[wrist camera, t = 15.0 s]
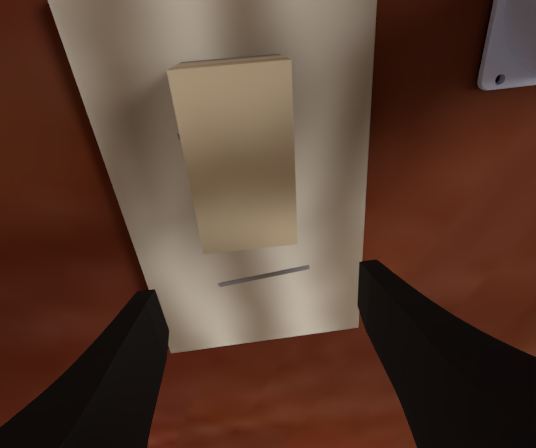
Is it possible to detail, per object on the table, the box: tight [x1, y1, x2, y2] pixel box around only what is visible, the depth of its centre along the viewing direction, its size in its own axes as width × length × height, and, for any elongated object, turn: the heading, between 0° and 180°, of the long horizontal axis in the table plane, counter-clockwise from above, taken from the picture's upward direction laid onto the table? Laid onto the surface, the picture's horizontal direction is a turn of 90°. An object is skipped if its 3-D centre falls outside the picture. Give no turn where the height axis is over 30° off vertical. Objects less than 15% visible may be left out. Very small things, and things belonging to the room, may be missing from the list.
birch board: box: [48, 0, 377, 353], centre depth 20 cm, size 14×22×1 cm, turn 5°
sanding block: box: [166, 54, 298, 254], centre depth 16 cm, size 8×4×4 cm, turn 4°
